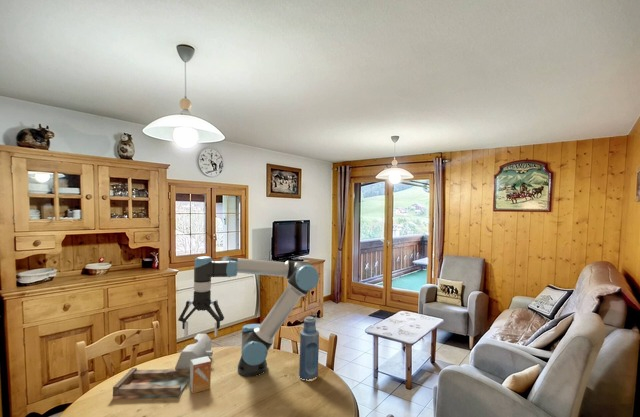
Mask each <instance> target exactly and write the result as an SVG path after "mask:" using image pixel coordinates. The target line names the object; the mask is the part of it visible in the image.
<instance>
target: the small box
mask: <svg viewBox="0 0 640 417" xmlns="http://www.w3.org/2000/svg"><path fill="white" fill-rule="evenodd" d="M211 372H212V361H211V359H210V356H206V357H201V358H197V359H192V360H190V380H189V389H190V391H191V393H192V394H196V393H199V392H203V391H206V390H210V389H211V378H212V374H211Z"/></svg>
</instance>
